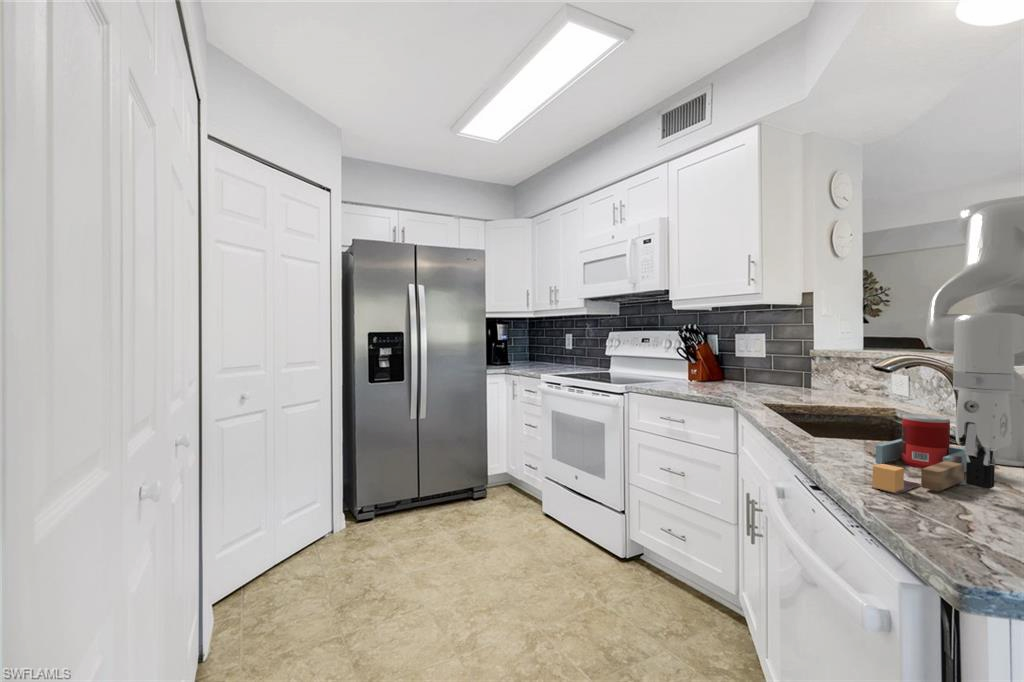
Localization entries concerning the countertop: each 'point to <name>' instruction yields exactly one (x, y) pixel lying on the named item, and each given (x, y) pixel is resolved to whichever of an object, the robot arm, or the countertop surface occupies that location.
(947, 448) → the canned food
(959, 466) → the bar
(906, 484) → the grey flat plate
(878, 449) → the keeper bay
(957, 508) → the countertop surface
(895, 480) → the orange cube
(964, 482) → the hinge base
